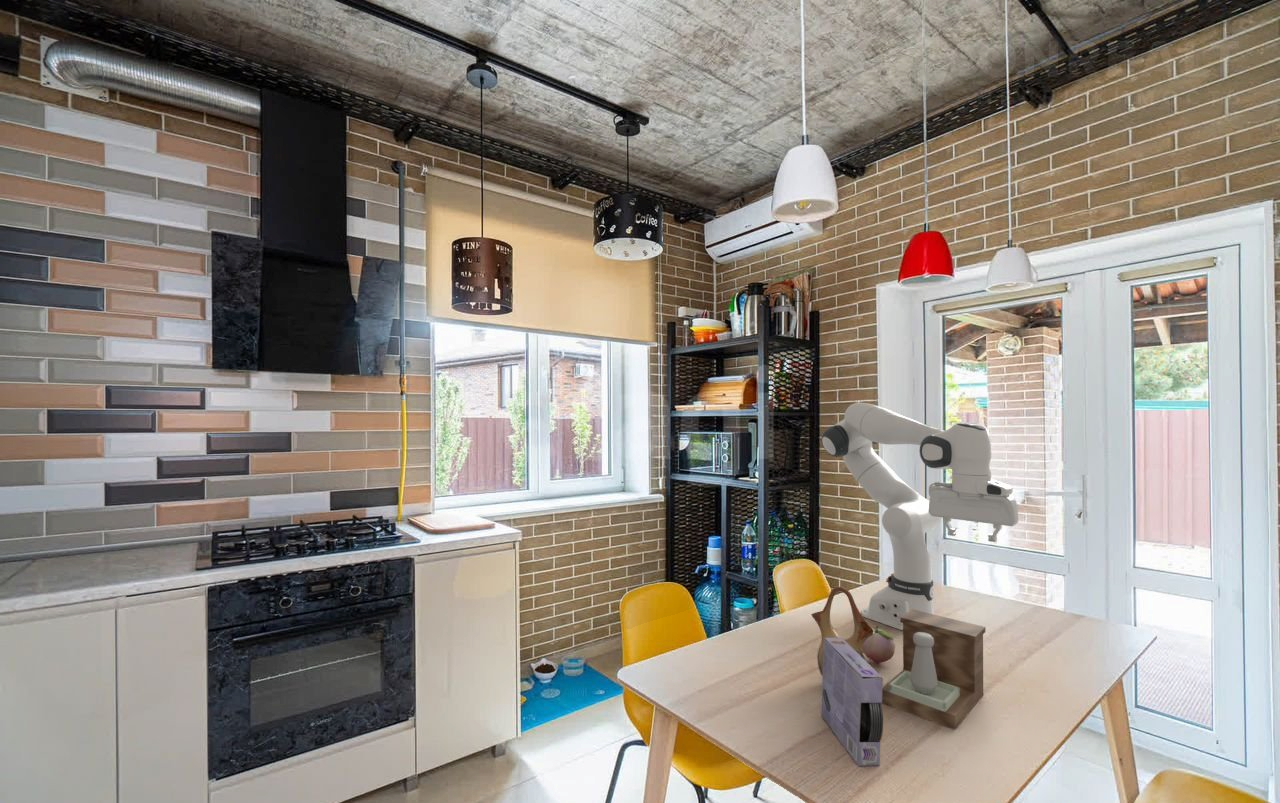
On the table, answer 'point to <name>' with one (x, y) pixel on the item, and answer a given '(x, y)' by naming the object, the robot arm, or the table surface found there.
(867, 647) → the decorative fruit
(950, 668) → the wooden stand
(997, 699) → the table surface
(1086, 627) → the table surface
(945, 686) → the tray
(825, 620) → the ceramic vessel
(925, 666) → the salt shaker
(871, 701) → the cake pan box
